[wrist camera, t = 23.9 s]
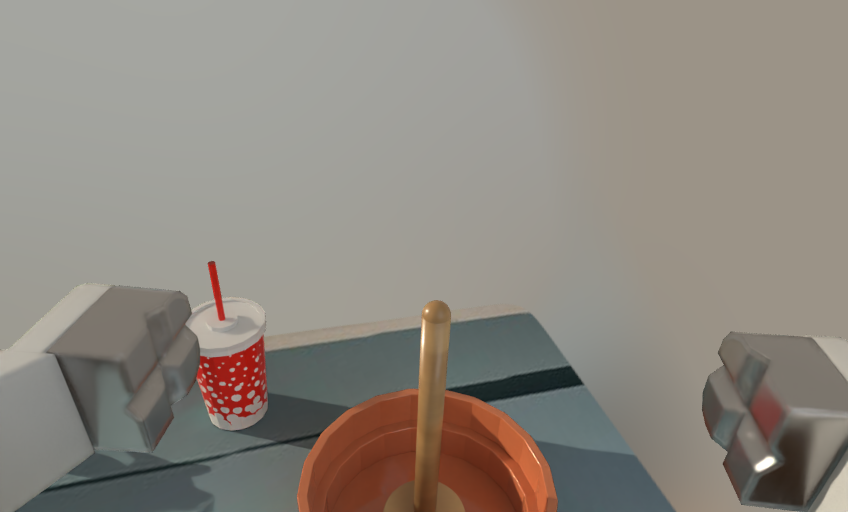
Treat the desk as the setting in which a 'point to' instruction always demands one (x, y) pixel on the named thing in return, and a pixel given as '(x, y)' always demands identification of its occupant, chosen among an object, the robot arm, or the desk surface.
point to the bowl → (396, 456)
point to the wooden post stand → (429, 421)
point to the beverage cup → (231, 358)
